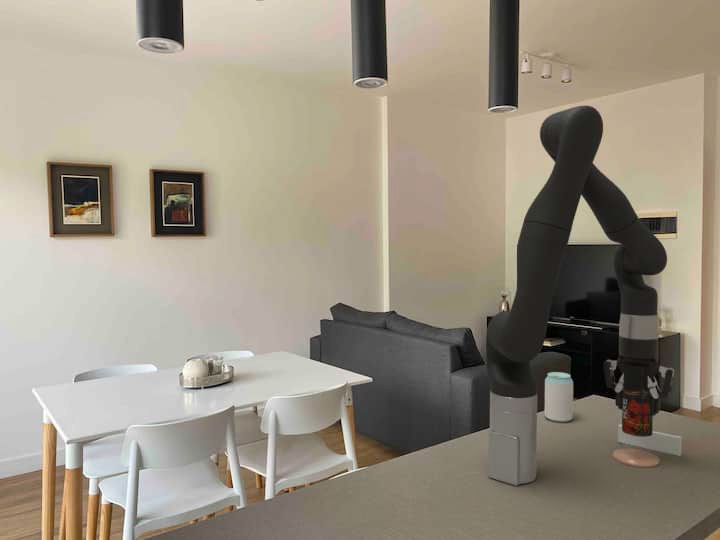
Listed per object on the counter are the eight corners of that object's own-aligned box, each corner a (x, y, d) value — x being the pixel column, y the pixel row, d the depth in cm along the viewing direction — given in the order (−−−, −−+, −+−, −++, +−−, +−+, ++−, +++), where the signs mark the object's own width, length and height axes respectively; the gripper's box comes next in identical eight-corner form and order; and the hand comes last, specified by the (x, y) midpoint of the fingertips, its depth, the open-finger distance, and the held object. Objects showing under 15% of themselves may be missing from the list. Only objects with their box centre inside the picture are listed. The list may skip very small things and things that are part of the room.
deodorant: (615, 429, 121) (616, 362, 120) (635, 425, 123) (636, 359, 122) (638, 438, 115) (640, 368, 114) (658, 434, 118) (660, 365, 117)
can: (573, 424, 142) (573, 378, 141) (544, 421, 144) (545, 376, 143) (572, 416, 148) (572, 372, 148) (544, 413, 151) (545, 370, 150)
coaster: (653, 471, 113) (653, 468, 113) (607, 460, 119) (607, 457, 119) (663, 458, 120) (663, 455, 120) (620, 447, 126) (620, 445, 126)
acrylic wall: (680, 455, 121) (680, 438, 121) (617, 441, 129) (618, 425, 129) (681, 454, 122) (681, 436, 121) (618, 440, 130) (619, 424, 130)
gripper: (598, 333, 120) (597, 409, 121) (672, 341, 110) (670, 423, 111) (608, 329, 125) (608, 401, 126) (680, 335, 116) (678, 413, 117)
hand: (637, 411), depth 119 cm, fingers closed on deodorant, 6 cm apart
